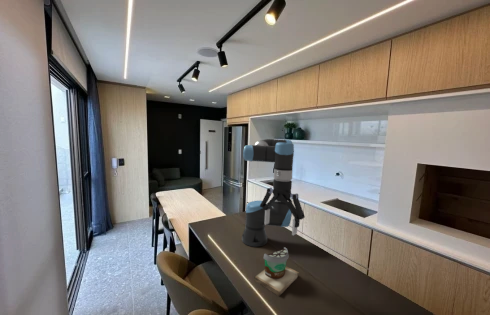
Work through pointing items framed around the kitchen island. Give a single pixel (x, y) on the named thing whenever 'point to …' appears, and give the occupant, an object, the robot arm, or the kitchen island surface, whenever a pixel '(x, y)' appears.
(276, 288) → the board
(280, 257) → the food container
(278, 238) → the kitchen island surface
